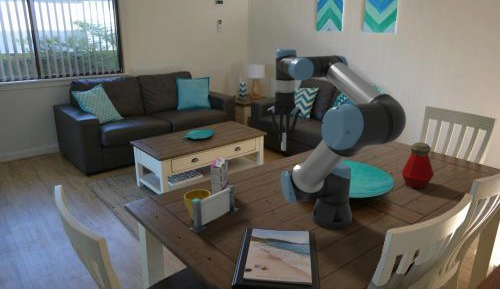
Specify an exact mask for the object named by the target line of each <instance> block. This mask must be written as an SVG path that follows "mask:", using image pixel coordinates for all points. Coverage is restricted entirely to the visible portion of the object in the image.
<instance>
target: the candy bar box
mask: <svg viewBox="0 0 500 289" xmlns="http://www.w3.org/2000/svg"><path fill="white" fill-rule="evenodd" d="M229 182H230V181H229V159H228V158H227V157H216V159H215V160H214V162H213V163H212V164H211V165H210V183H211V185H210V186H211V196H212V195H214V194H216V193H218V192H221V191H223V190H225V189H227V188H228V186H229V185H230V184H229Z"/></svg>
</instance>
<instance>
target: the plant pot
mask: <svg viewBox="0 0 500 289" xmlns="http://www.w3.org/2000/svg"><path fill="white" fill-rule="evenodd" d="M210 196H212V192H210V190H207V189H200V188H199V189H192V190H189V191H187V192H186V193H185V194H183V202H184V206H186V208H187V210H188V213H189V215H190V218H191V220H192V221H193V203H192V200H193V199H195V198H198V199H200V200H201V201H202V200H204V199H206V198H208V197H210Z"/></svg>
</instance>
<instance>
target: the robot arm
mask: <svg viewBox="0 0 500 289" xmlns="http://www.w3.org/2000/svg"><path fill="white" fill-rule="evenodd" d="M274 61H275V81H274V82H275V83H274V84H275V87H274V89H275V92H274V103H273V106H271V107H269V108H268V109H267V112H268V113H269V114H270V117H271V122H272V127H273V131H274V132H275V133H276V134H278V142H279V143H281V144H280V147H281V151H282V152H283V151H285V152H286V150H287V143H288V142H289V141H290V140H289V139H290V134H292V133H294V132H295V129H296V125H297V122H298V118H299V115H300V113H301V112H302V109H301V108H300V107H298V106H297V105H296V100H295V99H296V91H295V90H296V81H307V80H308V79H319V78H320V79H321V78H325V79H327V80H328V81H329V82H330V83H331V84H332V85H333V86H334V87H336V88H337V89H338V90H339V91H340V92H341V93H342V94H343V95H344V96H345V97H346V98H348V99H349V100H350V101H351V102H352V103H353V104H350V103H345V104H340V105H336V106H335V105H334V106H333V107H331V108H329V109H328V110H327V111H326V112H325V113H324V116H323V118H322V124H321V130H320V131H321V136H322V140H321V141H320V143H318V145H317V146H316V147H315V148H314V150H312V152H311V153H310V155H309V156H308V157H307V158H306V160H305V161H302V162H299V163H298V164H296V165H295V166H294V167H293V169H291V170H284V171H282V172H281V175H280V186H281V191H282V194H283V197H284V199H285V200H286V202H288V203H289V204H293V203H295V204H297V203H300V202H306V201H311V200H316V202H315V205H314V207H313V209H312V212H311V213H312V214H311V220H312V221H313V223H315V224H316V225H318V226H320V227H322V228H326V229H331V230H341V229H345V228H348V227H349V226H351V224H352V222H353V221H352V219H353V214H352V211H351V206H350V204H349V202H350V192H351V191H350V189H351V188H350V187H351V180H352V169H351V167H350V166H349V165H348V164H346V163H344V162H343V161H344V160H345V159H346V158H352V157H355V156H356V155H357V154H358V153H360V152H361V151H362V150H363V149H364V148H365V147H368V146H369V147H370V146H378V145H384V144H385V145H387V144H389V143H391V142H394V141H396V140H397V139H398V138H399V137H400V136H401V135H402V134H403V132H404V130H405V128H406V124H407V116H406V112H405V109H404V107H403V106H402V105H401V103H400V102H399V101H398V100H397V99H396V98H394V97H393V96H392V95H390V94H388V93H382V92H380V91H379V89H377V88H376V87H374V86H373V85H371V83H369V82H368V81H367V80H365V79H364V78H362V77H361V76H360V75H359V74H358V73H356V72H355V71H353V70H352V69H351V68H350V67H349V62H348V61H347V58H346V57H345V56H343V55H336V54H335V55H334V54H333V55H320V56H319V55H317V56H316V55H315V56H297V51H296V49H294V48H279V49H277V50H276V53H275V59H274ZM275 111H276V112H277V113H278V119H279V120H278V125H277V120H276V116H275ZM293 112H294V114H293V117H292V121H291V124H290V118H291V114H292V113H293ZM284 115H285V128H284V127H283V126H284V124H283V123H284ZM283 128H284V129H285V132H284V131H283Z"/></svg>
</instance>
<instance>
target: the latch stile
mask: <svg viewBox="0 0 500 289" xmlns="http://www.w3.org/2000/svg"><path fill="white" fill-rule="evenodd" d="M200 202H201V200H200V199H198V198H195V199H193V200H192V203H193V220H192V221H193V225H192V226H191V227H189V228H188V229H189V231H193V232H194V233H197V234H199V233H200V232H202V231H204V230H206V229H207V227H206V226H205V225H201V205H200Z"/></svg>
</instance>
